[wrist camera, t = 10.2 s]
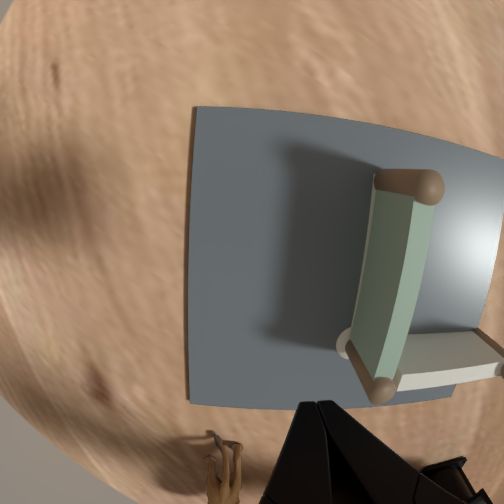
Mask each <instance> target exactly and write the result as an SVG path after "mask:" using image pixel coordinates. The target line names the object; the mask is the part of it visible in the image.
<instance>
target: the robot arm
mask: <svg viewBox="0 0 504 504" xmlns="http://www.w3.org/2000/svg"><path fill="white" fill-rule="evenodd" d="M466 461H467V459H466V457H463V458H460V459H457V460H453V461H450V462H446V463H443V464H439V465H435V466H432V467H428V468H425V469H424V470H422V472H421V473H420V472H419V471H418V470H417V469H415V468H414V467H413V466H412V465H410V464H409V463H408V462H407V461H405V460H404V459H403V458H402V457H400V456H399V455H398V454H397V453H395V452H394V451H393V450H392V449H390V448H389V447H388V446H387V445H385V444H384V443H383V442H382V441H380V440H379V439H378V438H377V437H376V436H374V435H373V434H372V433H371V432H370V431H368V430H367V429H366V428H365V427H364V426H362V425H361V424H360V423H359V422H358V421H356V420H355V419H354V418H353V417H352V416H351V415H349V414H348V413H347V412H346V411H345V410H343V409H342V408H341V407H340V406H339V405H338V404H337V403H335V402H334V401H333V400H320V401H317V402H314V401H302V402H299V404H298V407H297V409H296V412H295V415H294V418H293V421H292V423H291V426H290V429H289V431H288V434H287V437H286V439H285V442H284V444H283V447H282V450H281V452H280V455H279V457H278V460H277V462H276V465H275V467H274V470H273V472H272V474H271V477H270V479H269V482H268V484H267V486H266V489H265V491H264V493H263V496H262V497H261V499H260V502H259V504H493V503H492V501H491V500H490V498H489V497H488V495H487V494H486V492H485V490H484V489H483V488H482V489H481V490H479V492H477V493H476V492H475V491H474V489H473V487H472V486H471V484H470V482H469V480H468V479H467V477H466V475H465V474H464V472H463V470H462V469H461V468H462V467H463V465H464V464H465V462H466ZM419 474H420V475H419Z"/></svg>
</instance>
